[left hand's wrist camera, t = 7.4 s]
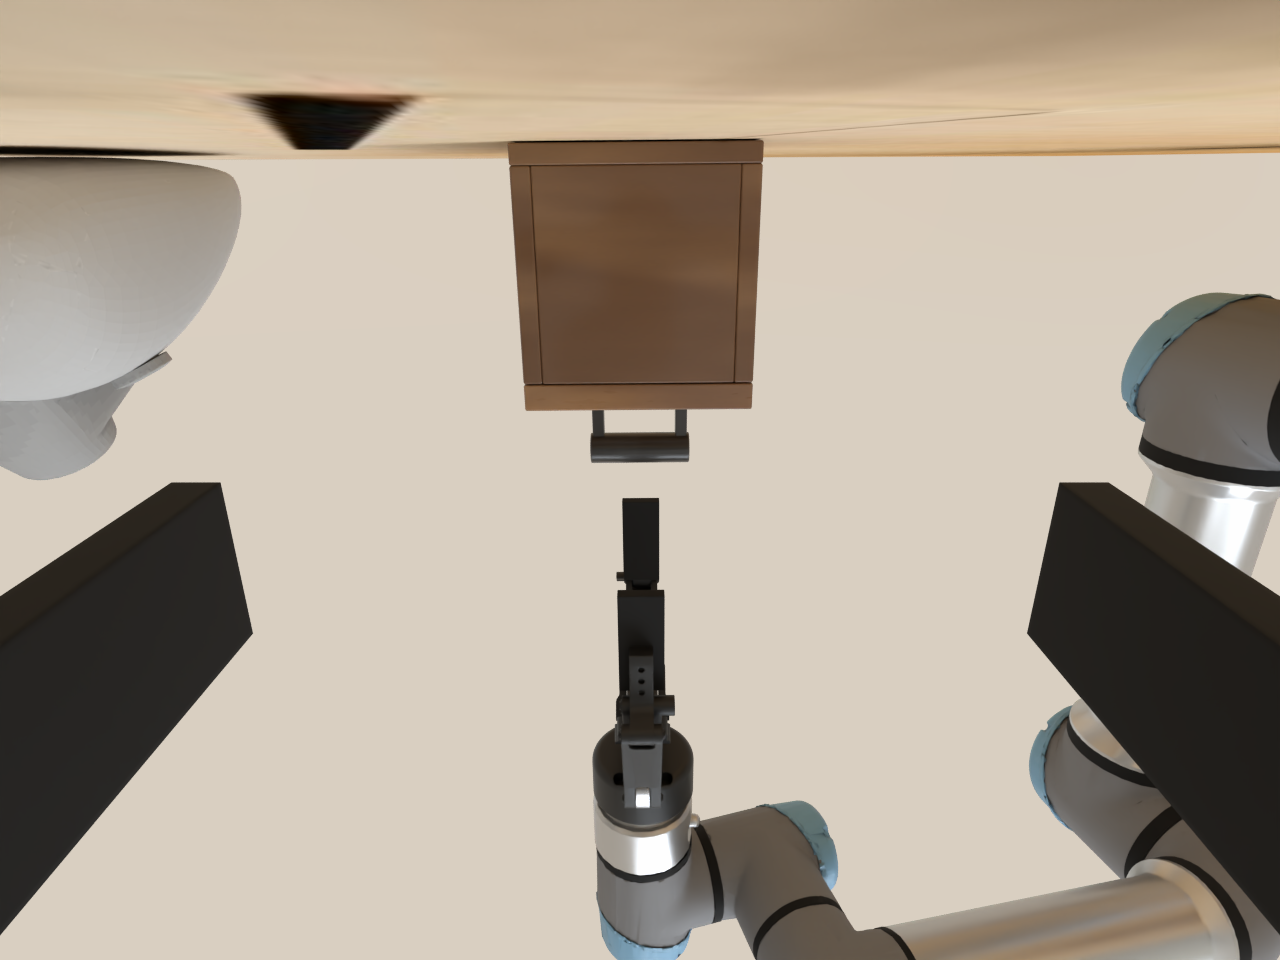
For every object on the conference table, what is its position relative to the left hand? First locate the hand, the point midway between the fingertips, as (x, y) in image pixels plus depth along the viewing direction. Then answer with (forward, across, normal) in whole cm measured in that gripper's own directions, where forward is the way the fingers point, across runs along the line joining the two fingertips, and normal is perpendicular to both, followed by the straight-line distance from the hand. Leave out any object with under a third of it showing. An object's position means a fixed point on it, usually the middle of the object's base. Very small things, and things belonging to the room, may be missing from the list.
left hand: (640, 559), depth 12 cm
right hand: (+35, 0, +17) cm, 39 cm away
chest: (+29, 0, -7) cm, 30 cm away
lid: (+30, 0, +3) cm, 30 cm away
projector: (+30, +29, -7) cm, 42 cm away
